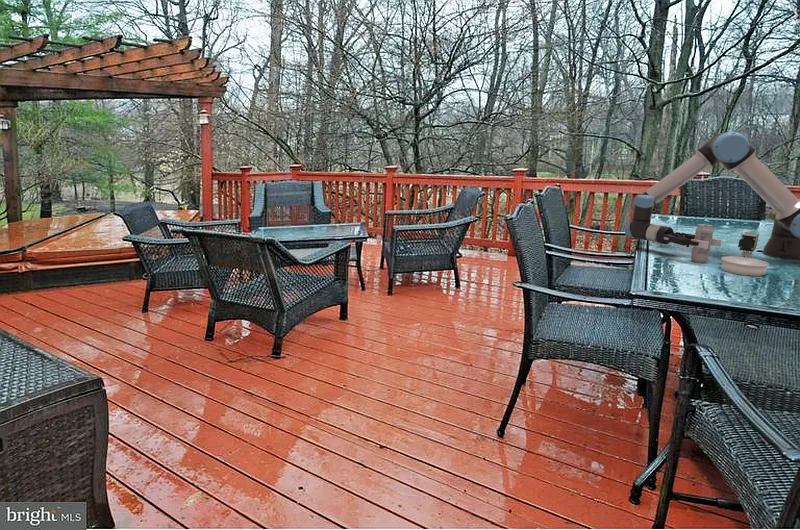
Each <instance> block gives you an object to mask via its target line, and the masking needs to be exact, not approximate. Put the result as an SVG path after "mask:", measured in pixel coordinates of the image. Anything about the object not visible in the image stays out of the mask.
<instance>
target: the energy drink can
mask: <svg viewBox="0 0 800 530" xmlns="http://www.w3.org/2000/svg"><path fill="white" fill-rule="evenodd" d="M694 235H695V238H694V239H695V240H700V241H706V242H709V245H708V249H704V248H699V247H694V246H692V251H691V255H690V259H691V261H692V262H694V263H697V262H698V263H697V264H706V263H707V262H708V261H709V257H710V252H711V246H712V245H711V241H712V238H713V236H714V228H713V224H706V223H704V224H703V223H699V224H698V225H697V227H696V228H695V233H694Z"/></svg>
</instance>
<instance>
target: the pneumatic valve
mask: <svg viewBox="0 0 800 530" xmlns="http://www.w3.org/2000/svg"><path fill="white" fill-rule="evenodd" d="M759 235H760V234H759V233H754V232H753V231H750V232H744V233H741V234H740V236H741V238H740V239H739V240H738V245H737V246H738V247H737V248H739V251H742V252H741V255H740V257H747V258H752V255H753V252H754V251H755V250H756V249H757V246H758V242H759Z"/></svg>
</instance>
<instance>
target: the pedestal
mask: <svg viewBox="0 0 800 530" xmlns="http://www.w3.org/2000/svg"><path fill="white" fill-rule="evenodd" d="M747 257H748V256H745V257H741V256H735V255H727V256H726V255H725V256H722V257H721V259H720V260H721V261H722V262H721V266H720V267H721V268H720V269H721V270H722V271H724V272H727V273H731V274H734V273H735V274H734V275H739V274H741V275H740V276H747V275H750V276H749V277H763V276H762V275H764V276H766V273H767V269H768V268H767V267H769V266H770V263H769V262H767V261H765V260H761V259H757V258H752V257H751V258H747Z"/></svg>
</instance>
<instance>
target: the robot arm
mask: <svg viewBox="0 0 800 530" xmlns="http://www.w3.org/2000/svg"><path fill="white" fill-rule="evenodd" d="M756 152H757V151H756V149H755V148H754V147H753V146H752V145H751V143H750V142H749V140H748V138H747V137H746V136H745V135H744V134H742V133H741V132H737V131H729V132H728V131H727V132H720V133H717V134H715V135H714V136H713V137H712V138H710V139H709V140H708V141H707V142H706V143H704V144H703V145H702V146H700V147H699V148H698V149H697V150H696V151H695V154H694V155H692V156H691V157H690V158H689V159H687V160H686V161H684V162H683V163H682V164H681V165H679V166H678V167H677V168H675V169H674V170H672V171H671V172H670V173H668V174H667V175H665V176H664V177H663V178H662V179H660V180H659V181H657V182H656V183H655V184H653V185H652V186H651V187H649V188H648V189H647V190H645V191H644V192H642V193H641V194H637V195H636V196H635V197H634V198H633V199H632V201H631V208H632V211H633V213H632V219H631V220H629V221H628V222H627V223H626V224H625V226H624V234H625V235H626V236H627V237H630V238H634V239H637V240H642V241H647V242H651V243H652V244H654V243H659V244H662V245H669V244H670V243H672V244H674V245H675V244H676V245H680V246H685V247H686V248H690V247H693V246H694V247H699V248H704V249H708V245H709V242H706V241H700V240H695V239H694V238H695V234H691V233H686V232H679V231H677V232H676V231H674V229H673V228H672V227H670V226H666V225H665V226H664V225H661V224H654V223H651V222H652V215H653V208H654V206H655V205H657V204H659V203H660V202H661V201H662V200H664V199H665V198H667V197H668V196H669V195H672V193H673V192H675V191H676V190H677V189H679V188H681V187H682V186H683V185H685V184H686V183H687V182H689V181H690V180H692V179H693V178H695V177H696V176H698V174H700V173H701V172H703V171H705V169H707V168H712V167H714V166H716V164H719V163H721V164H722V166H723V167H724V168H726V170H727V171H732V172H735V173H736V174H737V175H738V176H740V177H741V178H742V180H743V181H744V182H745V183H746V184H747V185H748V186H749V187H750V188H751V189H752V190H753V191H754V192H755V193H756V194H757V195H758V196H759V197H760V198H761V199H762V200H763V201H764V202H765V203H766V204H767V205H768V206H769V207H770V208H771V209H772V210H773V211H774V212H775V216H774V222H773V225H772V231H771V235H770V237H769V239H768V241H767V242H766V244H765V245H764V246H763V250H762V254H764V255H765V256H769V257H770V256H771V257H775V258H779V257H780V258H782V259H787V260H800V198H798V197H797V196H795V194H794V193H793V192H792V191H791V190H790V189H789V188H788V187H787V186H786V185H784V183H782V181H781V180H780V179H779V178H778V177H776V175H775V174H774V173H773V172H772V171H771V170H770V169H769V168H768V167H767V166H766V165H765V164H764V163H763V162H762V161H760V160H759V159H758V158H757V156H756ZM711 246H714V247H718V248H719V247H721V246H722V239H718V238H717V239H716V238H713V237H712V241H711Z"/></svg>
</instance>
